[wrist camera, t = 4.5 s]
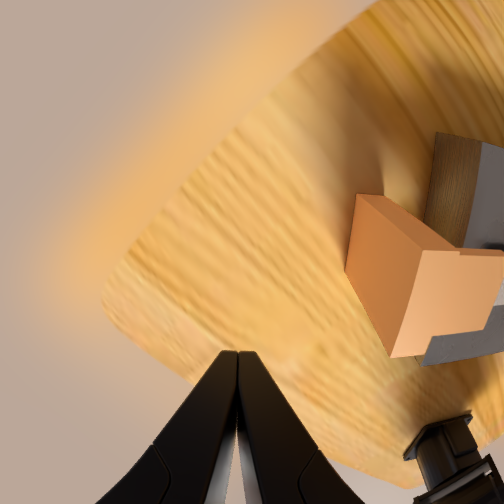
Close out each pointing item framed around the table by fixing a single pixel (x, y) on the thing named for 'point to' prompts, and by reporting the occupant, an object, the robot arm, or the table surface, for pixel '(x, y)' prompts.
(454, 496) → the robot arm
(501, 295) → the strap
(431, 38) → the table surface
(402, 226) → the tan piece
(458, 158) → the slotted grey stand
